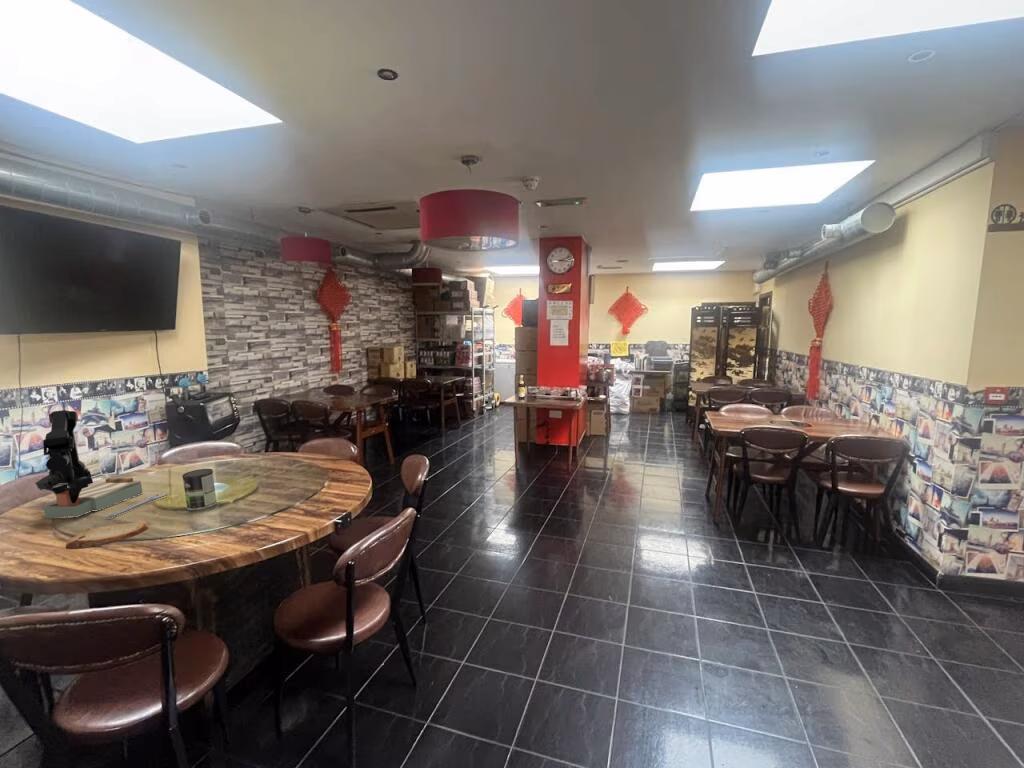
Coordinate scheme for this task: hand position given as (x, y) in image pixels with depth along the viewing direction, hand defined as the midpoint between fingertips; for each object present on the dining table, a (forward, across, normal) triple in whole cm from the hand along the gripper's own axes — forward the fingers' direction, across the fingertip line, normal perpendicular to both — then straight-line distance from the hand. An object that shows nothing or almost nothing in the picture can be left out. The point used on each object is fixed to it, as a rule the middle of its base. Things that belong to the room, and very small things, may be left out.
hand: (68, 502), depth 179 cm
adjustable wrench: (+6, +22, +8) cm, 24 cm away
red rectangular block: (+5, 0, 0) cm, 5 cm away
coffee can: (+5, +51, +8) cm, 52 cm away
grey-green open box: (+5, 0, +10) cm, 11 cm away
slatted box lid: (0, 0, +13) cm, 13 cm away
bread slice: (+6, +39, -20) cm, 44 cm away
